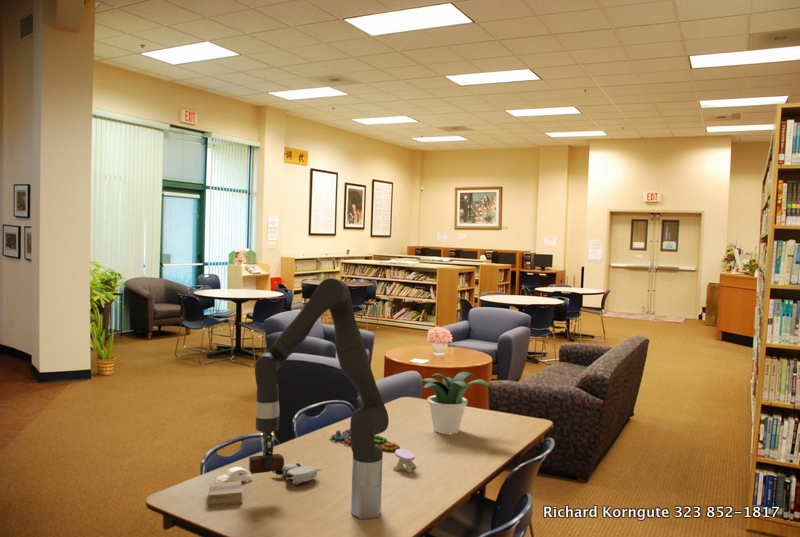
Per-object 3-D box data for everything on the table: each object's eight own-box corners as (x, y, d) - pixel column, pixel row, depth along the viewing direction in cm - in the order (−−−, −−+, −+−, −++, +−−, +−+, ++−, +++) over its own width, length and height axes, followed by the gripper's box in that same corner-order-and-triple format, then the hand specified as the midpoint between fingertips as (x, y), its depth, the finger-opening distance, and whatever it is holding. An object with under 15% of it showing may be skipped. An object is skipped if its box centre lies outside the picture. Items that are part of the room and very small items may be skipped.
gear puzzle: (407, 448, 250) (408, 438, 250) (384, 458, 237) (384, 448, 237) (350, 432, 268) (350, 423, 268) (325, 441, 255) (325, 431, 255)
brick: (251, 474, 193) (251, 460, 193) (248, 470, 197) (249, 456, 196) (284, 470, 197) (284, 456, 197) (281, 466, 201) (281, 452, 201)
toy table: (389, 464, 230) (389, 449, 229) (411, 462, 232) (412, 448, 232) (396, 474, 220) (397, 458, 220) (420, 472, 223) (420, 457, 223)
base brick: (242, 503, 191) (242, 492, 191) (207, 506, 188) (208, 495, 188) (241, 491, 200) (241, 481, 200) (208, 494, 197) (208, 483, 197)
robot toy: (269, 479, 214) (293, 489, 203) (269, 466, 214) (293, 476, 203) (298, 471, 222) (323, 480, 212) (298, 459, 222) (323, 467, 212)
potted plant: (474, 448, 251) (476, 387, 250) (401, 432, 268) (403, 376, 267) (501, 429, 278) (503, 374, 277) (433, 416, 296) (435, 364, 295)
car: (245, 475, 215) (245, 462, 215) (253, 481, 210) (253, 468, 210) (212, 483, 207) (212, 470, 207) (220, 489, 202) (220, 475, 202)
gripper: (281, 419, 191) (281, 473, 191) (276, 408, 204) (276, 458, 205) (257, 421, 189) (257, 475, 189) (254, 409, 202) (253, 460, 203)
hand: (267, 466), depth 197 cm, fingers closed on brick, 4 cm apart
